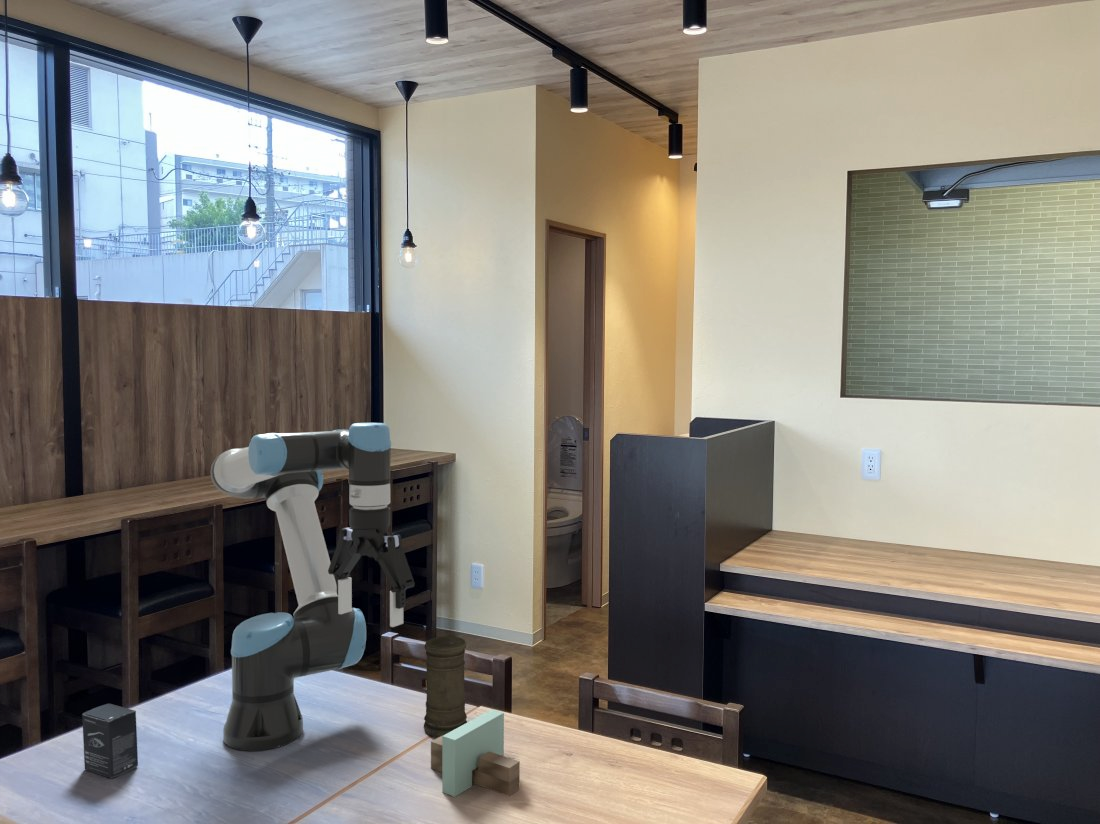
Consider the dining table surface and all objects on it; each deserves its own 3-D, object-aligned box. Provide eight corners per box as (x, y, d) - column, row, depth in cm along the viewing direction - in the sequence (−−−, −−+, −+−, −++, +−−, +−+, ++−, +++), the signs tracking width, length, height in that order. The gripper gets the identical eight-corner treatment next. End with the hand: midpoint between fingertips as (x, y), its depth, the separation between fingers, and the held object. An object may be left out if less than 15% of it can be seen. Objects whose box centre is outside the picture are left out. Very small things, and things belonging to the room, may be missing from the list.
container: (460, 740, 167) (460, 651, 166) (417, 735, 169) (417, 647, 168) (473, 721, 176) (473, 636, 175) (432, 717, 178) (432, 633, 177)
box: (138, 767, 155) (137, 709, 154) (110, 780, 150) (109, 721, 149) (111, 757, 159) (110, 701, 158) (82, 769, 154) (81, 712, 153)
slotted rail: (430, 768, 155) (430, 741, 155) (441, 761, 158) (441, 735, 157) (509, 796, 145) (509, 768, 145) (519, 789, 148) (519, 761, 147)
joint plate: (454, 796, 145) (454, 740, 144) (442, 792, 146) (442, 736, 146) (503, 765, 157) (503, 712, 156) (491, 761, 158) (491, 709, 158)
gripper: (308, 502, 160) (309, 612, 161) (404, 515, 146) (405, 636, 148) (339, 497, 167) (339, 603, 168) (433, 510, 153) (433, 625, 154)
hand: (370, 618), depth 158 cm, fingers open, 13 cm apart
